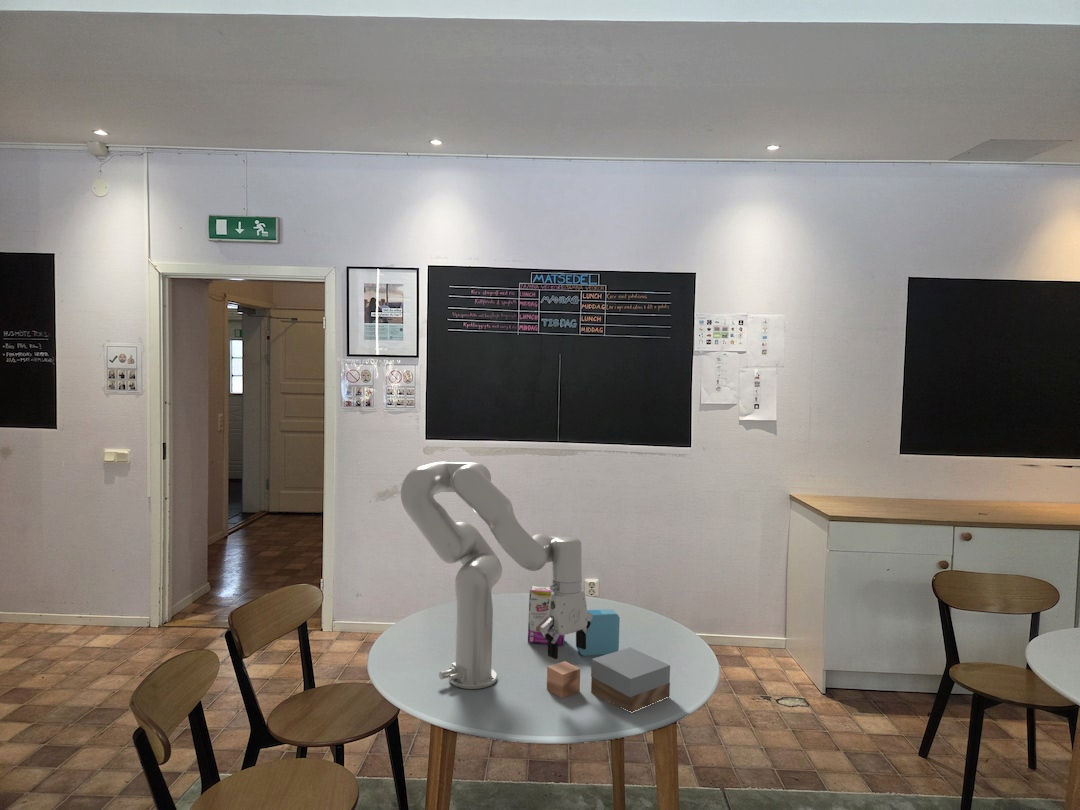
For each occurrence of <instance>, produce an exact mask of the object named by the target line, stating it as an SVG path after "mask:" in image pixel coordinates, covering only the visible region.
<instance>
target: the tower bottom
mask: <svg viewBox="0 0 1080 810" xmlns="http://www.w3.org/2000/svg"><path fill="white" fill-rule="evenodd" d="M670 688H671V682H670V683H668V684H666V685H663V686H660V687H657V688H655V689H652V690H649V691H646V692H644V693H641V694H638V695H635V696H633V697H628V696H627V695H625V694H623V693H621V692H619V691H617V690H615V689H614V688H612V687H610V686H608V685H606V684H604V683H602V682H601V681H599V680H597V679H595V678H593V677H591V683H590V689H591V690H590V693H592V694H593V695H594V696H595V695H596V696H597V697H599V698H601V699H602V700H604V699H605V700H604V701H606V700H607V701H606V702H608V701H610V702H611V703H610V702H609V703H610V704H612V703H614V704H615V705H614V704H613V705H614V706H616V705H617V706H616V707H618V706H619V707H618V708H620V707H622V708H624V709H626V710H628V711H631V712H633V711H635V710H638V709H640V708H642V707H645V706H648V705H650V704H652V703H655V702H657V701H659V700H662V699H664V698H666V697H669V696H670V695H671V694H670ZM669 698H670V697H669Z"/></svg>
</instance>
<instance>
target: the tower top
mask: <svg viewBox="0 0 1080 810" xmlns="http://www.w3.org/2000/svg"><path fill="white" fill-rule="evenodd" d="M590 665H591V666H590V667H591V668H590V669H591V670H590V677H591V678H592V677H593V678H595V679H597V680H599V681H601V682H602V683H604V684H606V685H608V686H610V687H612V688H614V689H615V690H617V691H619V692H621V693H623V694H625V695H627V696H628V697H633V696H635V695H638V694H641V693H644V692H646V691H649V690H652V689H655V688H657V687H660V686H663V685H666V684H668V683H670V684H671V682H670V679H671V676H670V675H671V664H669V663H665V662H664V661H661V660H659V659H657V658H655V657H652V656H650V655H648V654H647V653H644V652H641V651H639V650H637V649H635V648H633V647H627V648H623V649H619V650H618V651H616V652H613V653H610V654H606V655H599V656H598V657H594V658H591V664H590Z"/></svg>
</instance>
